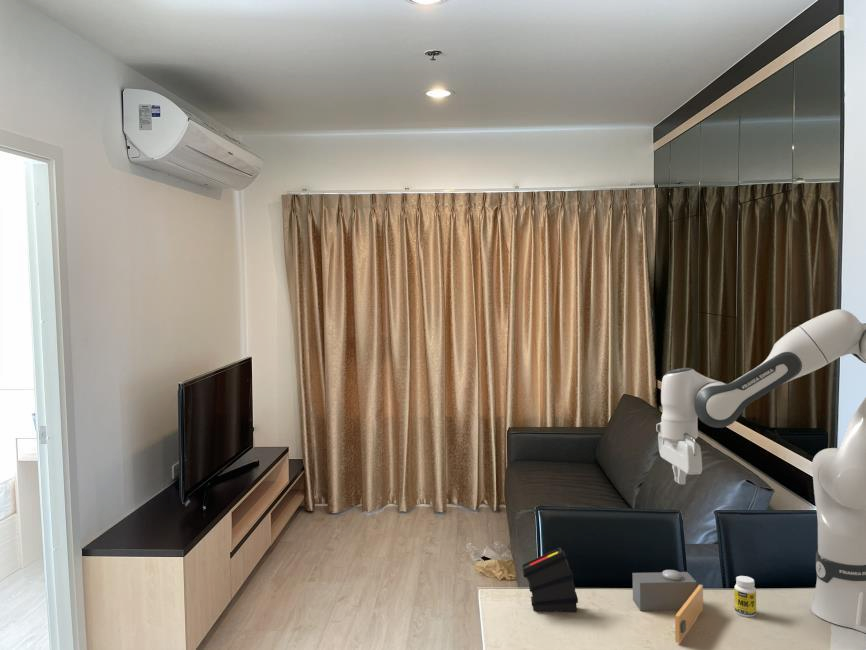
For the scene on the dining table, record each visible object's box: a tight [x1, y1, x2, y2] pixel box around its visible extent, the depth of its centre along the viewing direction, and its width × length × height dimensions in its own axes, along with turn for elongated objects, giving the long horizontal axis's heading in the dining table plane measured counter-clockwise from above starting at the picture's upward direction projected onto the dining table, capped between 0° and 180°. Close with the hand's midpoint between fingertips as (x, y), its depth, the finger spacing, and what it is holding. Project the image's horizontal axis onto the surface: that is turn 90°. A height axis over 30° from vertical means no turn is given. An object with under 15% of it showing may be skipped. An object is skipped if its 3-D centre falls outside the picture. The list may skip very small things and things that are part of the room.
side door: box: [674, 583, 704, 644], centre depth 151 cm, size 20×1×6 cm, turn 143°
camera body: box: [632, 569, 698, 612], centre depth 162 cm, size 14×6×8 cm, turn 90°
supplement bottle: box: [733, 575, 757, 618], centre depth 157 cm, size 5×5×8 cm
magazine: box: [521, 547, 579, 613], centre depth 161 cm, size 4×13×15 cm, turn 84°
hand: (680, 483), depth 169 cm, fingers closed
